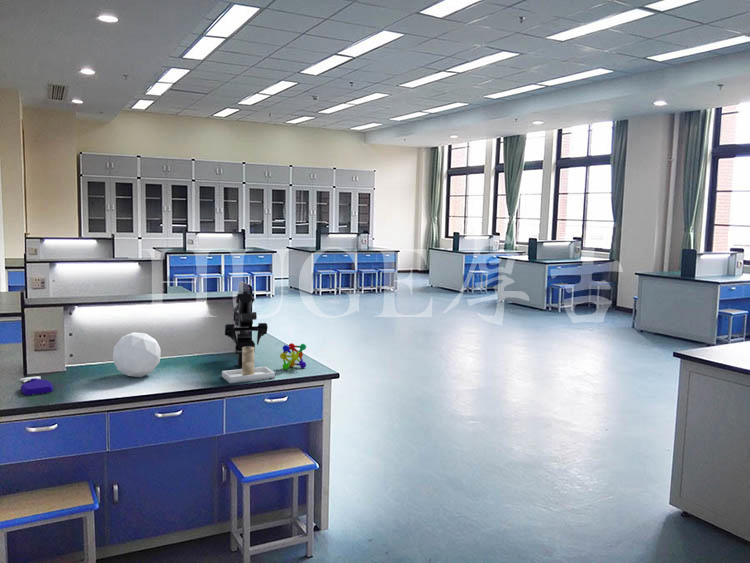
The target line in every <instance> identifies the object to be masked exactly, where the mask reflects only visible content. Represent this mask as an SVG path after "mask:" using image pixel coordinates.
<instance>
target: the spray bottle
mask: <svg viewBox="0 0 750 563" xmlns="http://www.w3.org/2000/svg"><path fill="white" fill-rule="evenodd" d="M19 381H20V382H23V384H22V385H21V386H20V391H21V392H22V394H24V395H25V396H27V395H31V396H33V395H32V394H39V393H46V394H48V393H47V392H51V393H53V391H54V387H53V384H52V382H50V381H49V380H47V379H42V378H41V375H40V376H38V375H37V376H29V377H21V378H20V380H19ZM28 381H30V382H28ZM39 395H40V394H39Z"/></svg>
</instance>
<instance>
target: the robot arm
mask: <svg viewBox="0 0 750 563" xmlns="http://www.w3.org/2000/svg"><path fill="white" fill-rule="evenodd" d="M254 302H255V298H254V297H253V295H252V293H249V292H248V291H242V293H237V295H236V296H235V304H236V306H235V307H234V309H233V314H232V315H233V316H232V318H233V322H234V323H226V324H225V325H224V336H227V337H228V338H230V339H231V340H232V341H233V343H234V354H235V355H237V363H234V366H236V367H240V368H242V347H247V346H251V347H254V354H255V353H256V344H257V346H259V343H260V339H261V338H262V337H263V336H264V335H267V332H268V324H267V323H266V322H258V325H256V326H255V325H254V321H256V320H257V318H258V317H257V311H256V312H255V311H252V304H253V303H254ZM253 325H254V326H253ZM236 332H238V333H237V334H236ZM249 332H257V336H256V343H255V342H254V340H253V338H252V334H251V333H249Z"/></svg>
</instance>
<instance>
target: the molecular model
mask: <svg viewBox="0 0 750 563" xmlns="http://www.w3.org/2000/svg"><path fill="white" fill-rule="evenodd" d="M297 348H298V349H299V350H298V349H297ZM306 348H307V344H305V343H301V344H300V345H295V344H294V343H291V342H290V343H289V344H288V345H286V344H285V345H283V346H282V350H283V352H281V353H280V355H279V357H280V359H281V360H282V361H283V364H282V369H283V370H288V369H290V368H292V367H294V366H300V368H302V369H304V368H306V366H307V363H306V361H304V360H303V356H304V353H303V351H304V350H306ZM288 353H289V354H288ZM289 358H291V359H290V360H289ZM296 361H297V362H298V363H297V362H296Z"/></svg>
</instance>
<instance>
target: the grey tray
mask: <svg viewBox="0 0 750 563" xmlns="http://www.w3.org/2000/svg"><path fill="white" fill-rule="evenodd" d="M275 376H276V373H275V372H274V371H273V370H271V369H270V368H268V367H267V366H259V367H258V366H257V367H254V375H245V376H242V368H239V369H231V370H229V369H228V370H222V371H221V377H222V378H223V379H224V380H226V382H227V383H229V384H237V383H244V382H246V383H247V382H253V381H254V382H255V381H261V380H262V379H264V380H270V379H269V378H273V379H275V378H276V377H275Z"/></svg>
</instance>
